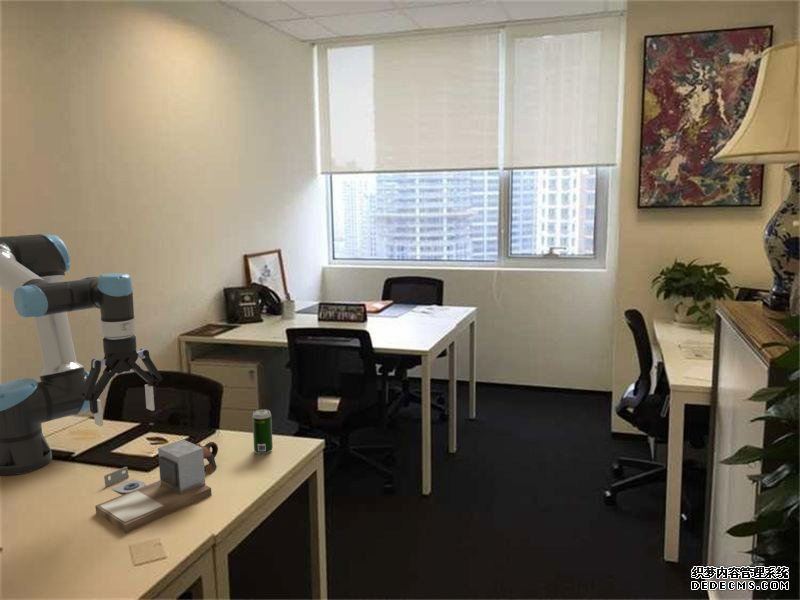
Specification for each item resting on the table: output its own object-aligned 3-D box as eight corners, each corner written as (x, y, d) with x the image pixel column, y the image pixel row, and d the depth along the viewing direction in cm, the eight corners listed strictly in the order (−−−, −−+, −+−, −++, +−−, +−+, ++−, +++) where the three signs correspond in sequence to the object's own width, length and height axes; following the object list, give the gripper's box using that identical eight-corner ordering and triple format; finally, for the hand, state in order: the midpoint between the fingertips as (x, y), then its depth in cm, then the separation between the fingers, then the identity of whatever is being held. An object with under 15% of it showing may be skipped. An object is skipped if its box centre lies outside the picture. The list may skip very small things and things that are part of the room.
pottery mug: (204, 481, 165) (186, 457, 164) (184, 488, 170) (166, 464, 169) (232, 453, 175) (215, 430, 174) (212, 461, 180) (196, 438, 179)
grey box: (158, 485, 157) (155, 448, 156) (185, 474, 163) (182, 439, 162) (178, 496, 152) (175, 458, 150) (205, 484, 158) (203, 447, 156)
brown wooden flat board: (96, 513, 148) (95, 505, 147) (180, 479, 165) (179, 471, 165) (125, 533, 139) (125, 524, 139) (211, 495, 157) (211, 487, 156)
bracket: (128, 498, 156) (126, 485, 155) (105, 487, 162) (103, 475, 161) (150, 487, 162) (149, 475, 161) (127, 478, 167) (126, 466, 166)
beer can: (272, 453, 181) (271, 414, 179) (254, 455, 180) (252, 416, 178) (272, 446, 186) (271, 408, 184) (254, 448, 185) (252, 410, 183)
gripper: (74, 348, 142) (82, 435, 146) (173, 329, 161) (177, 406, 165) (60, 343, 146) (68, 427, 150) (157, 325, 166) (162, 400, 170)
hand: (125, 416), depth 158 cm, fingers open, 13 cm apart
